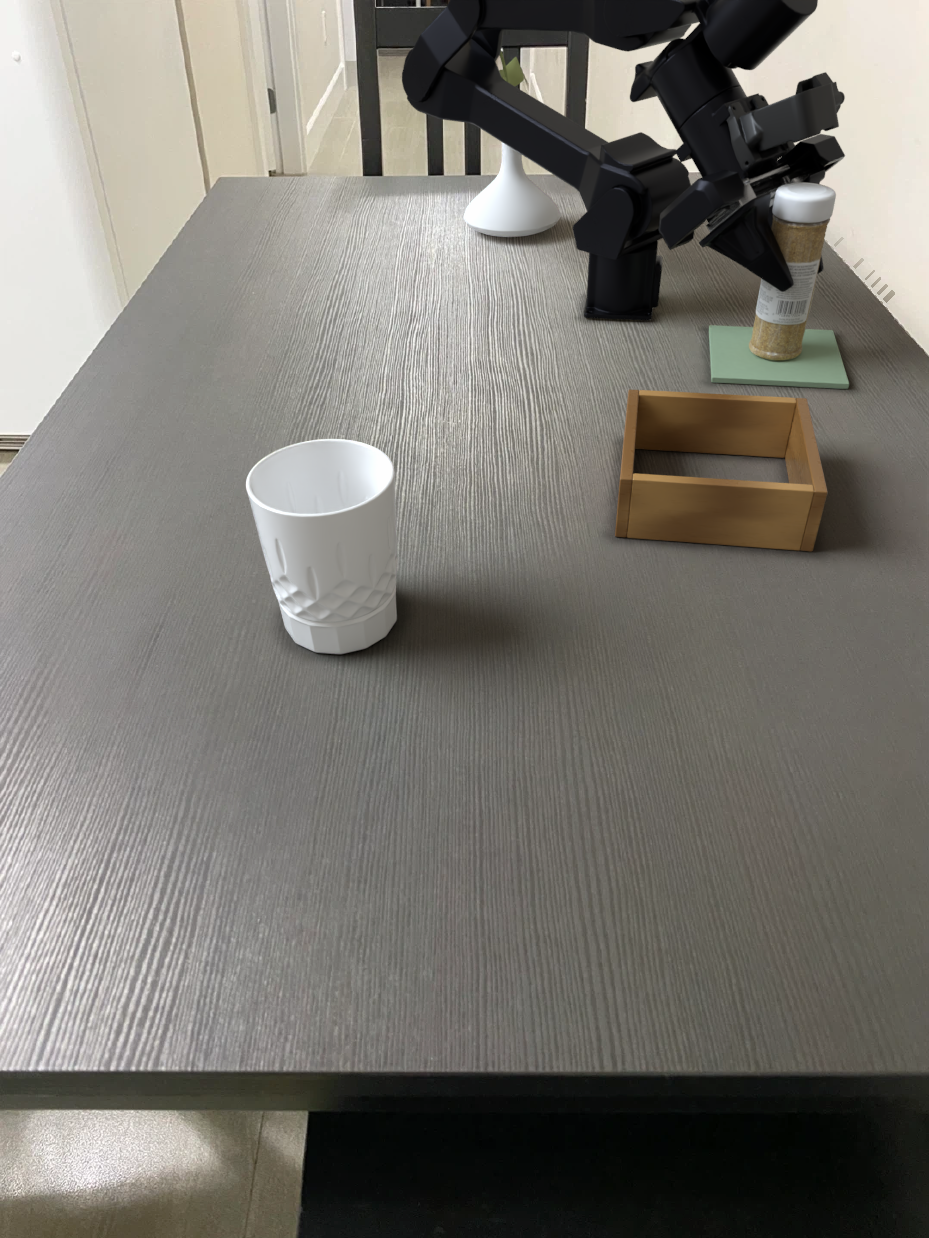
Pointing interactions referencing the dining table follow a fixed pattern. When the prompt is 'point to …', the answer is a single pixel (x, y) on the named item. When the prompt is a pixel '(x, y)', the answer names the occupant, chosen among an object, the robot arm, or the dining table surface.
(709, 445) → the wooden box
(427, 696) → the dining table surface
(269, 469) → the white cup
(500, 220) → the flower in vase
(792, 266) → the sprinkles bottle
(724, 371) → the mat
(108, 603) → the dining table surface
